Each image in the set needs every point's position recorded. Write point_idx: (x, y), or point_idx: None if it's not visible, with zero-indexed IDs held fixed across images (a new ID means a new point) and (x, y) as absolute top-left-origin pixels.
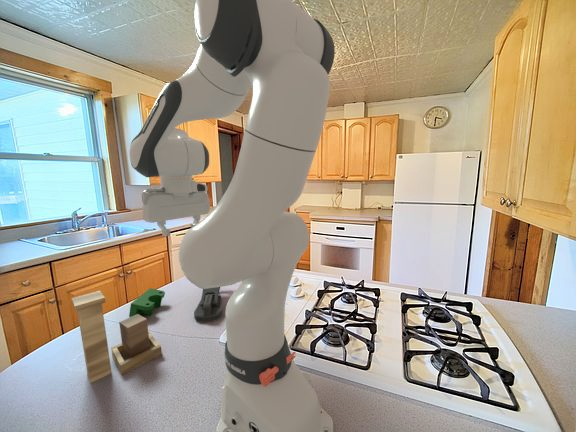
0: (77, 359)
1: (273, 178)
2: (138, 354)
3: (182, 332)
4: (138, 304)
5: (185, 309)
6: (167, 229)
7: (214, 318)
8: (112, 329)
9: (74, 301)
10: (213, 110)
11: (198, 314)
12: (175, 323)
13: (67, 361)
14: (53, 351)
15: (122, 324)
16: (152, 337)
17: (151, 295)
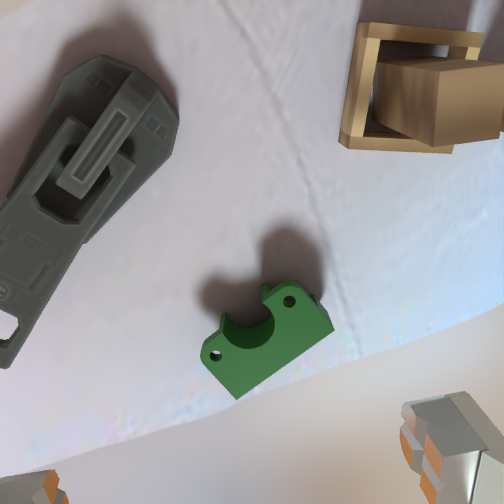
0: (482, 207)
1: None
2: (431, 43)
3: (250, 92)
4: (316, 313)
5: (166, 234)
6: (456, 476)
7: (118, 62)
8: (373, 285)
9: None
10: None
11: (167, 121)
12: (238, 170)
13: (496, 217)
14: (491, 285)
15: (502, 111)
16: (359, 104)
17: (253, 350)
